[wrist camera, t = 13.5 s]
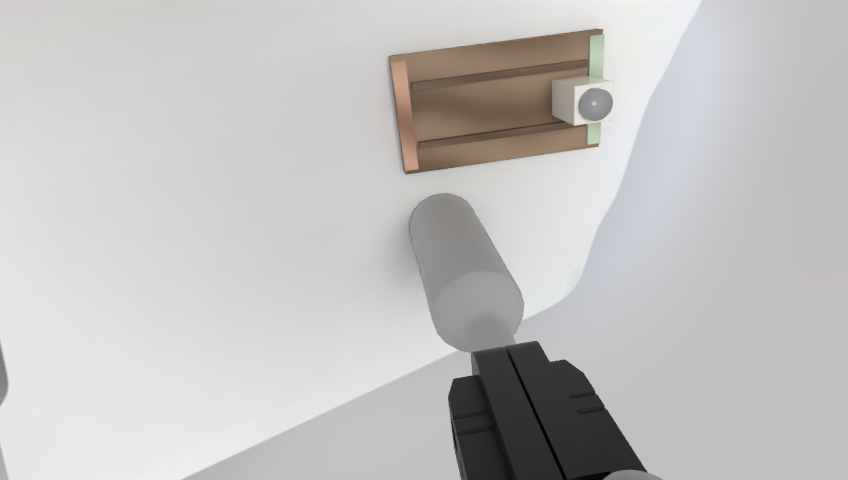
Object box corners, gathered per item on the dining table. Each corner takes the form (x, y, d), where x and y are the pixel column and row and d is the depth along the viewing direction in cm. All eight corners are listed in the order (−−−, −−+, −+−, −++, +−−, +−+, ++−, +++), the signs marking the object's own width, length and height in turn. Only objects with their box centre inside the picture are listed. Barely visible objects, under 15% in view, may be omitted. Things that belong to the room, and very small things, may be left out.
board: (389, 55, 41) (390, 57, 39) (596, 29, 42) (605, 29, 40) (404, 170, 45) (406, 176, 43) (592, 143, 46) (601, 147, 45)
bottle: (428, 266, 49) (501, 524, 24) (397, 213, 47) (441, 441, 21) (486, 236, 49) (624, 467, 23) (458, 181, 46) (579, 374, 21)
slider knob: (551, 79, 42) (579, 87, 37) (585, 75, 42) (617, 82, 37) (551, 114, 43) (578, 127, 38) (584, 110, 43) (615, 122, 38)
